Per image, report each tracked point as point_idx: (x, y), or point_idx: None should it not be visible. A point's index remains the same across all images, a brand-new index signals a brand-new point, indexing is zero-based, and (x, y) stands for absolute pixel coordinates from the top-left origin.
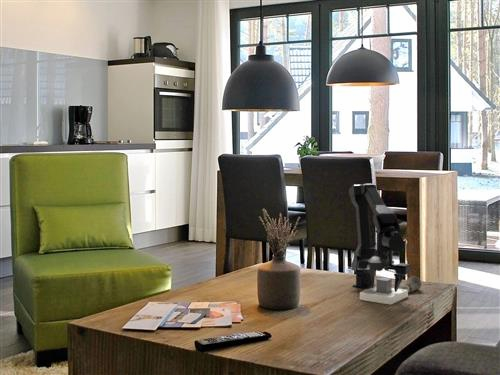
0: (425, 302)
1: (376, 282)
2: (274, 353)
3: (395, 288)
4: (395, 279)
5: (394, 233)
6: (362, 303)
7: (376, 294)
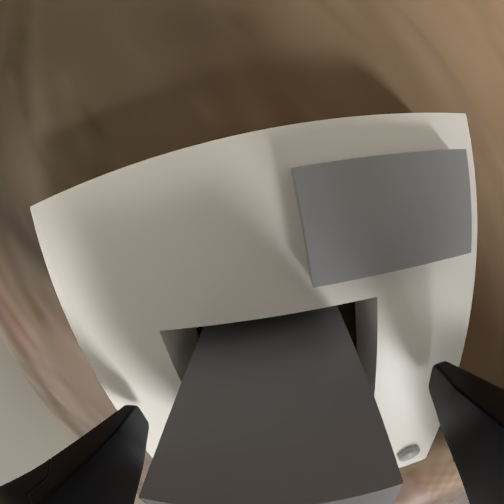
0: (49, 396)
1: (385, 429)
2: None
3: (107, 425)
4: (39, 498)
5: None
6: (291, 10)
7: (233, 184)
